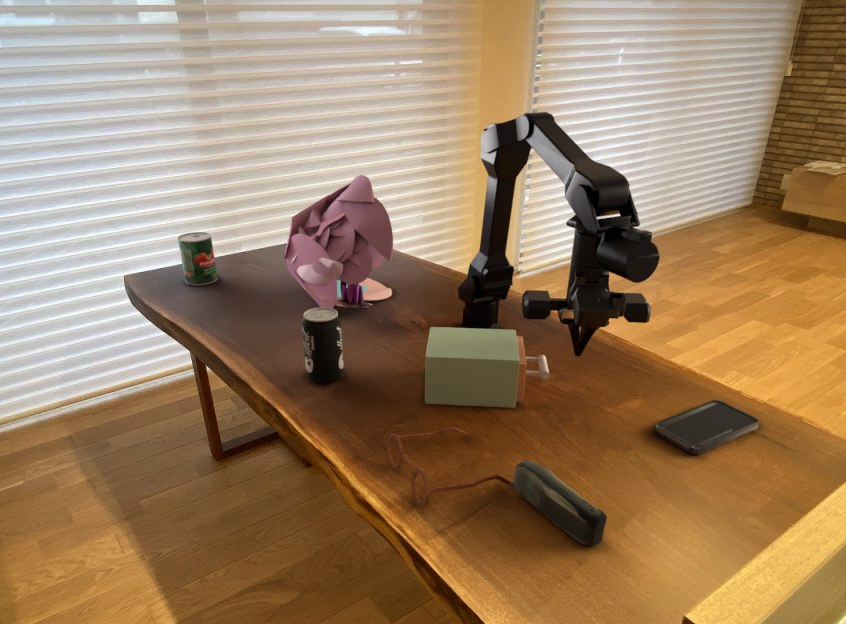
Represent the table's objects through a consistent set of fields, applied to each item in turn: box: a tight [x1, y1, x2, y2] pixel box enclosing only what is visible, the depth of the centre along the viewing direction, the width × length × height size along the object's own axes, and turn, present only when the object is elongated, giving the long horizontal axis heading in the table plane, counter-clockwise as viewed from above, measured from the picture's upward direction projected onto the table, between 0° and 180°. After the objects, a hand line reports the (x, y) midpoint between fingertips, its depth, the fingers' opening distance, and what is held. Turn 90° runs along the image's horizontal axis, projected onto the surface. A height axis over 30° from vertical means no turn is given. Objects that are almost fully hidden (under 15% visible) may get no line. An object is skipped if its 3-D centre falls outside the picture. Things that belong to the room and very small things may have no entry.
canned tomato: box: [176, 231, 219, 287], centre depth 151 cm, size 8×8×11 cm
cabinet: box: [424, 326, 520, 409], centre depth 103 cm, size 15×12×9 cm
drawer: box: [516, 335, 550, 402], centre depth 102 cm, size 18×10×7 cm, turn 84°
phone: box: [653, 399, 760, 456], centre depth 93 cm, size 8×1×15 cm
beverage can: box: [301, 306, 345, 385], centre depth 106 cm, size 7×7×12 cm
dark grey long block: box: [507, 459, 608, 547], centre depth 76 cm, size 5×3×15 cm
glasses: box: [386, 426, 513, 507], centre depth 83 cm, size 13×13×5 cm
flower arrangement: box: [284, 174, 394, 309], centre depth 138 cm, size 35×24×28 cm
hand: (577, 355), depth 100 cm, fingers closed
